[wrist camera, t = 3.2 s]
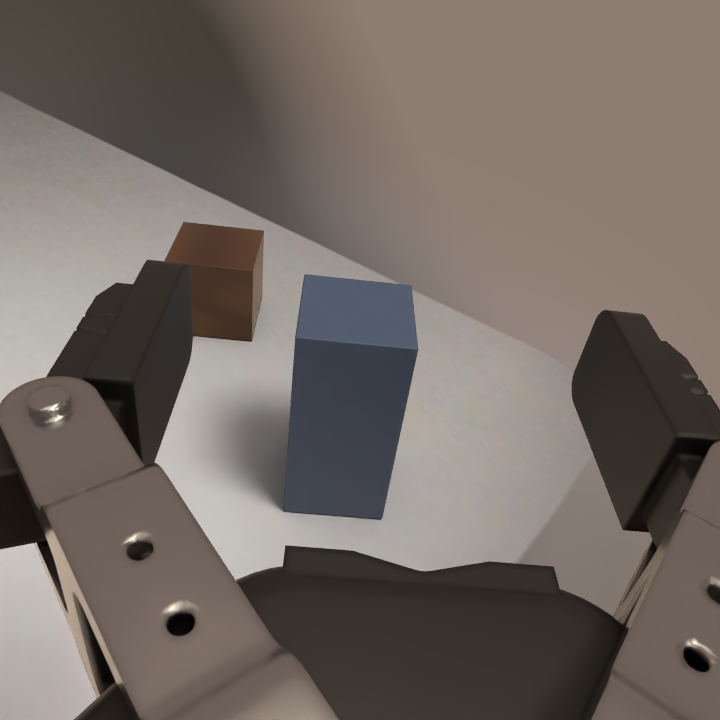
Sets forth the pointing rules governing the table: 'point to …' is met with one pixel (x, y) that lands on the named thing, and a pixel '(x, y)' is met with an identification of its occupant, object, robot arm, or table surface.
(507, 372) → the table surface
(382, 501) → the tall block
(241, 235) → the block
